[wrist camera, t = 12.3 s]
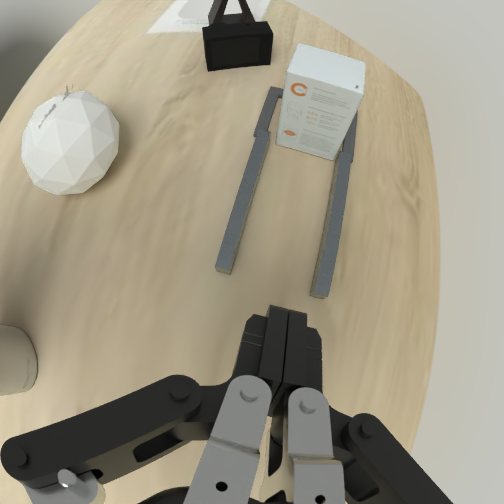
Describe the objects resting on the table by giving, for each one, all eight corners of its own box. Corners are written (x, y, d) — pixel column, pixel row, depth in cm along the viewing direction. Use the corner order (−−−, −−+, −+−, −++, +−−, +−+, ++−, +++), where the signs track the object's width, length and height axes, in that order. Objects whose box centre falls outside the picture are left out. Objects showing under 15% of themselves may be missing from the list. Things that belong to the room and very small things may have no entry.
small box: (339, 128, 39) (367, 62, 26) (333, 162, 37) (365, 95, 25) (284, 112, 39) (297, 41, 27) (273, 144, 38) (285, 71, 25)
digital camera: (263, 47, 44) (265, 17, 37) (270, 65, 42) (274, 32, 35) (204, 54, 43) (201, 23, 36) (207, 72, 41) (204, 39, 35)
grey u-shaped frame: (217, 271, 33) (214, 266, 30) (258, 140, 38) (258, 129, 35) (322, 299, 32) (328, 296, 30) (345, 164, 37) (351, 154, 35)
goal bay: (253, 136, 38) (253, 133, 37) (270, 89, 40) (270, 86, 40) (351, 163, 37) (352, 160, 37) (356, 112, 40) (357, 110, 39)
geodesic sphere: (63, 93, 33) (2, 89, 21) (141, 82, 33) (89, 65, 21) (61, 183, 39) (2, 205, 26) (136, 184, 39) (84, 208, 26)
